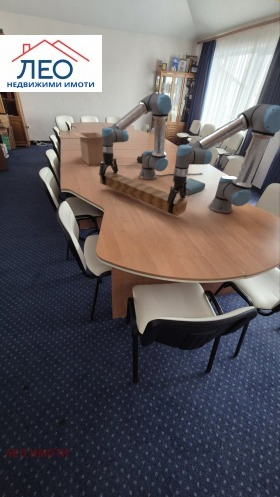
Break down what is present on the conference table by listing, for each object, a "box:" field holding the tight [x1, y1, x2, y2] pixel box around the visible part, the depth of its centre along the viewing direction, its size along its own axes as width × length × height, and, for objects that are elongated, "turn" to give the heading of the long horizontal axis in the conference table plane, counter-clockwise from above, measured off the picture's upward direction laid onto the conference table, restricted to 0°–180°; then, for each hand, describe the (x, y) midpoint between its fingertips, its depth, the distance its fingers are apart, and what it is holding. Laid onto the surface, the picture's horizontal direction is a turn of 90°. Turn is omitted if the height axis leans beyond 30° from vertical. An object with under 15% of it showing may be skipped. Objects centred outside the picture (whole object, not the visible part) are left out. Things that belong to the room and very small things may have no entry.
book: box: [173, 177, 206, 196], centre depth 186 cm, size 23×16×5 cm
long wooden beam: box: [99, 170, 188, 217], centre depth 153 cm, size 72×10×7 cm, turn 48°
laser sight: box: [136, 153, 143, 164], centre depth 240 cm, size 10×22×10 cm, turn 78°
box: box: [70, 129, 104, 166], centre depth 229 cm, size 44×36×27 cm
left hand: (109, 182), depth 171 cm, fingers closed on long wooden beam, 10 cm apart
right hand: (175, 210), depth 139 cm, fingers closed on long wooden beam, 10 cm apart
